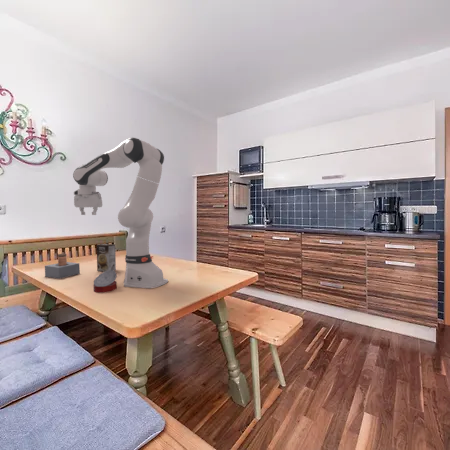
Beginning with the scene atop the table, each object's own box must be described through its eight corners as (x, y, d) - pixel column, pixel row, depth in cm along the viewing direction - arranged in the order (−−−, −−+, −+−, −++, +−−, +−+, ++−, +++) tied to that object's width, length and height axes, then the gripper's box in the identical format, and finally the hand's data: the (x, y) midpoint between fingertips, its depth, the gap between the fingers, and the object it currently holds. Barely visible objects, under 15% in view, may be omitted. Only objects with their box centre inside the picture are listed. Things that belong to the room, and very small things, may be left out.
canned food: (117, 298, 119) (122, 281, 116) (94, 301, 112) (99, 283, 109) (110, 282, 127) (115, 266, 123) (89, 284, 120) (93, 267, 116)
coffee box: (96, 270, 154) (95, 244, 153) (104, 268, 160) (104, 243, 159) (108, 272, 151) (107, 245, 150) (116, 269, 157) (115, 243, 156)
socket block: (79, 273, 147) (79, 263, 147) (59, 278, 136) (58, 267, 136) (66, 271, 152) (65, 261, 152) (45, 276, 141) (44, 265, 141)
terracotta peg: (68, 274, 145) (68, 253, 145) (61, 276, 142) (60, 255, 141) (64, 273, 147) (63, 253, 146) (57, 275, 143) (56, 254, 142)
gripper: (104, 191, 151) (105, 214, 152) (81, 192, 159) (81, 214, 160) (95, 191, 145) (96, 215, 146) (71, 192, 153) (72, 214, 154)
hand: (88, 214), depth 153 cm, fingers open, 8 cm apart
